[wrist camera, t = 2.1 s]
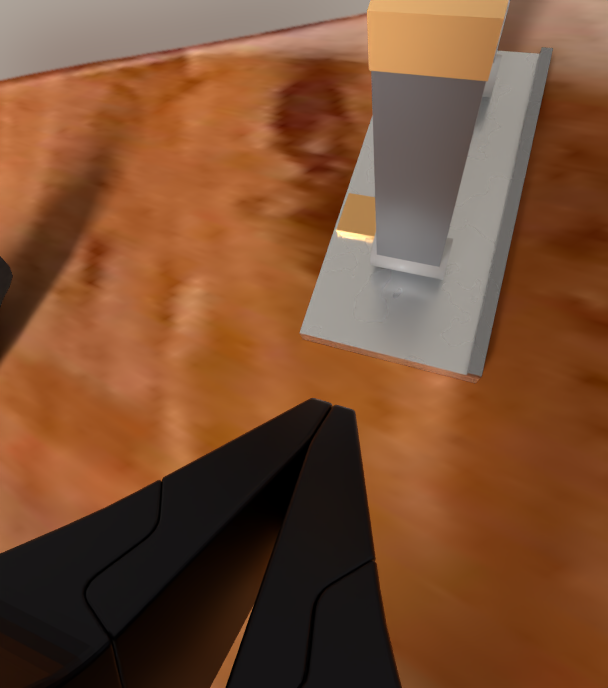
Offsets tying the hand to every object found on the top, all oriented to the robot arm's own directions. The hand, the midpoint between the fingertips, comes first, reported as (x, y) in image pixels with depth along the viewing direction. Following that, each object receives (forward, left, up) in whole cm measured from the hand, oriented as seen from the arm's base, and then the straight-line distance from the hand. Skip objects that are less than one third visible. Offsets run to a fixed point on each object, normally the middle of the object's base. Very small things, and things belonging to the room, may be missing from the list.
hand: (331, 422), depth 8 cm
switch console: (+8, +13, -14) cm, 21 cm away
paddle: (+5, +9, -12) cm, 16 cm away
